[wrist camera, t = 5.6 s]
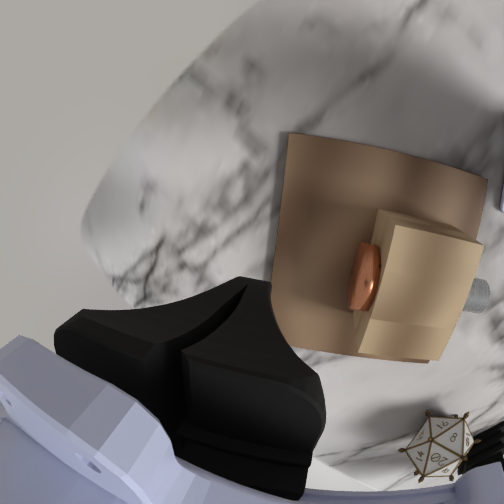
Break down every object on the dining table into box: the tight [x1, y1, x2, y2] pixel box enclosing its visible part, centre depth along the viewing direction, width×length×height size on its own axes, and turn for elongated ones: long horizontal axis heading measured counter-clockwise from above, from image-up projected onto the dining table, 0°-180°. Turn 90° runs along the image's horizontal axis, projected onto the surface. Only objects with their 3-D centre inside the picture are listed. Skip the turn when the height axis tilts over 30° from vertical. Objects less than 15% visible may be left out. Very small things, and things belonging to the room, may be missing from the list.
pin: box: [348, 242, 490, 313], centre depth 16 cm, size 10×4×4 cm, turn 84°
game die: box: [398, 410, 481, 483], centre depth 19 cm, size 9×8×10 cm
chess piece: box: [457, 421, 504, 475], centre depth 13 cm, size 8×8×20 cm
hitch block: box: [271, 133, 488, 363], centre depth 17 cm, size 15×16×5 cm
